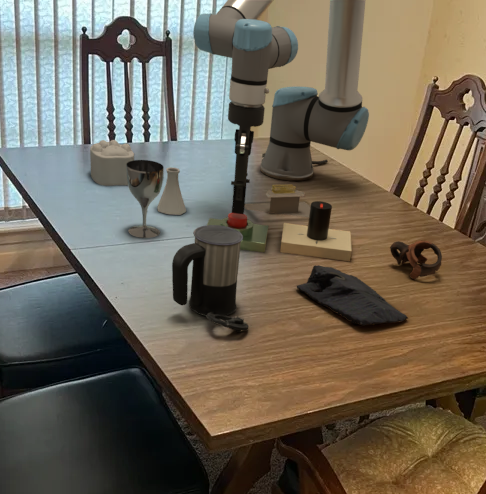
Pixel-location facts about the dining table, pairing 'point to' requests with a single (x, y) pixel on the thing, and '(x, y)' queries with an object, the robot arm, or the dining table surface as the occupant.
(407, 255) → the coiled brown leather belt
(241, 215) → the button
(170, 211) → the flask
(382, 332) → the dining table surface
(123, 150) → the lumpy-topped squat cylinder
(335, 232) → the timer panel
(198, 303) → the milk frother
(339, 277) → the black cloth
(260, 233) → the button housing
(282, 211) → the platform
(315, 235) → the dial
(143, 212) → the wine glass
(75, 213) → the dining table surface
